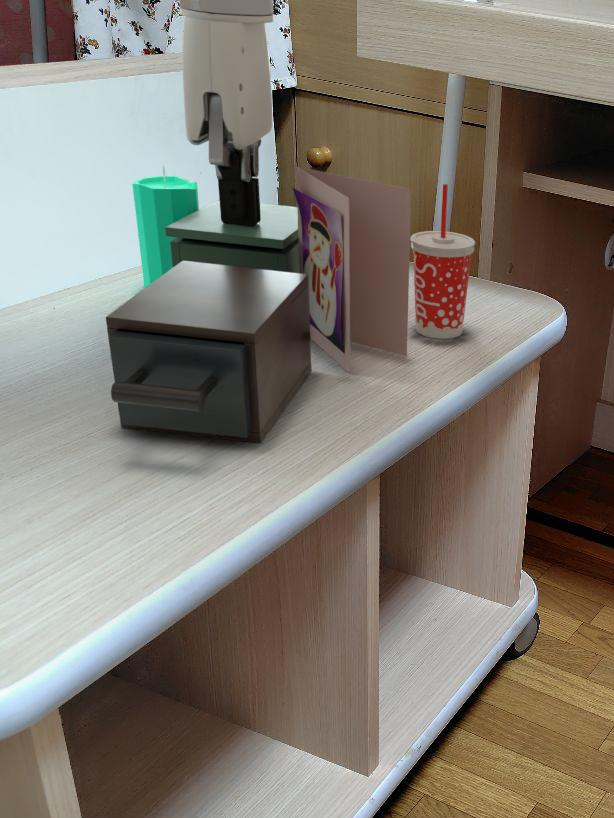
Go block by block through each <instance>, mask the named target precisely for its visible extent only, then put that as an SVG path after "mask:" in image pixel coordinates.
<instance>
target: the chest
mask: <svg viewBox="0 0 614 818" xmlns="http://www.w3.org/2000/svg"><path fill="white" fill-rule="evenodd" d="M170 246H171V256H172V265H173V267H175V266H176V265H177V264H179V263H180V262H181V261H190V262H199V263H209V264H218V265H227V266H236V267H245V268H254V269H263V270H272V271H281V272H290V273H299V274H300V268H299V239H298V238H297V239H296V240H295V241H293V242H292V243H291V244H289V245H288V246H287V247H285V248H284V249H278V248H269V247H260V246H251V245H242V244H233V243H224V242H215V241H206V240H197V239H187V238H178V237H177V238H175V239H174V240H172V241H171V242H170Z"/></svg>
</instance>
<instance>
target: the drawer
mask: <svg viewBox="0 0 614 818" xmlns="http://www.w3.org/2000/svg"><path fill="white" fill-rule="evenodd" d="M107 337H108V339H107V340H108V345H109V351H110V360H111V366H112V373H113V374H112V375H113V380H114V382H113V383H112V385H111V389H110V397H111V399H112V401H113V402H114V403H117V408H118V414H119V422H120V425H121V424H125V425H134V426H143V427H152V428H161V429H170V430H179V431H188V432H197V433H205V434H214V435H223V436H232V437H241V438H247V437H248V436H249V435H250V433H251V432H252V426H251V411H250V396H249V381H248V366H247V351H246V345H244V343H242V342H233V341H224V340H215V339H206V338H197V337H188V336H179V335H170V334H161V333H152V332H143V331H134V333H133V332H124V331H114V332H113V333H111V334H110V335H109V336H108V335H107Z"/></svg>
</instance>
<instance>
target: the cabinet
mask: <svg viewBox="0 0 614 818" xmlns="http://www.w3.org/2000/svg"><path fill="white" fill-rule="evenodd" d="M308 283H309V279H308V274H299V273H290V272H281V271H272V270H263V269H254V268H245V267H236V266H227V265H218V264H209V263H199V262H190V261H181V262H180V263H179V264H177V265H176V266H175V267H173V268H172V269H170V270H169V271H168V272H166V273H165V274H164V275H162V276H161V277H160V278H158V279H157V280H156V281H154V282H153V283H151V284H150V285H149V286H147V287H146V288H145V287H144V288H143V289H141V291H139V292H138V293H136V294H135V295H133V297H131V298H130V299H128V300H127V301H125V302H124V303H123V304H122V305H119V307H118V308H116V309H115V310H114V311H112V312H110V314H108V315H106V316H105V323H106V331H107V337H108V336H109V335H110V334H111V333H113V332H114V331H124V332H133V333H134V331H143V332H152V333H161V334H170V335H179V336H188V337H197V338H206V339H215V340H224V341H233V342H242V343H244V345H246V351H247V366H248V381H249V396H250V411H251V426H252V432H251V433H250V435H249V436H248V437H247V438H241V437H232V436H223V435H214V434H205V433H197V432H188V431H179V430H170V429H161V428H152V427H143V426H134V425H125V424H121V423H120V428H124V429H130V430H131V429H132V430H141V431H148V432H149V431H150V432H159V433H167V434H178V435H185V436H195V437H202V438H203V437H204V438H212V439H221V440H228V441H229V440H231V441H239V442H248V443H257V444H258V443H259V444H261V443H262V442H263V440H264V439H265V437H266V436H267V435H268V433H269V432H270V430H271V429H272V428H273V426H274V425H275V423H276V422H277V420H278V419H279V418H280V416H281V415H282V413H283V412H284V411H285V409H286V408H287V406H288V405H289V404H290V402H291V401H292V400H293V397H295V395H296V394H297V392H298V391H299V389H300V388H301V387H302V385H303V384H304V382H306V379H307V378H308V377H309V375H310V374H311V372H312V351H311V349H312V348H311V345H312V344H311V338H310V312H309V285H308Z"/></svg>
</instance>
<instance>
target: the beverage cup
mask: <svg viewBox="0 0 614 818" xmlns="http://www.w3.org/2000/svg"><path fill="white" fill-rule="evenodd" d="M448 188H449V185H448V183H442V191H441V216H440V230H427V231H419V232H416V233H412V235H410V247H411V249H412V253H413V254H412V255H413V282H414V284H413V285H414V309H415V310H414V311H415V312H414V313H415V330H416V332H417V333H418V334H419V335H421V336H424V337H428V338H432V339H441V340H442V339H447V340H448V339H454V338H457V337H459V336H461V335H462V333H463V331H464V322H465V321H464V320H465V315H466V314H465V313H466V305H467V304H466V303H467V296H468V287H469V278H470V271H471V261H472V254H474V252H475V246H476V241H475V240H474V238H473V237H470V236H468V235H466V234H462V233H458V232H453V231H447V216H448V215H447V213H448Z"/></svg>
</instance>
